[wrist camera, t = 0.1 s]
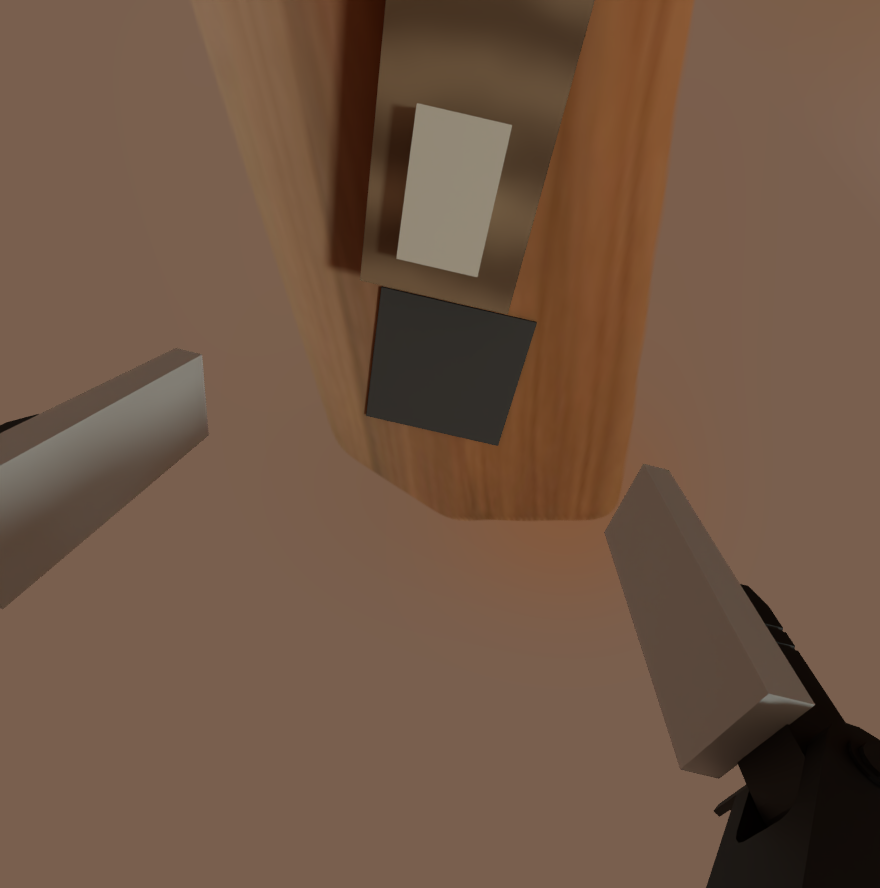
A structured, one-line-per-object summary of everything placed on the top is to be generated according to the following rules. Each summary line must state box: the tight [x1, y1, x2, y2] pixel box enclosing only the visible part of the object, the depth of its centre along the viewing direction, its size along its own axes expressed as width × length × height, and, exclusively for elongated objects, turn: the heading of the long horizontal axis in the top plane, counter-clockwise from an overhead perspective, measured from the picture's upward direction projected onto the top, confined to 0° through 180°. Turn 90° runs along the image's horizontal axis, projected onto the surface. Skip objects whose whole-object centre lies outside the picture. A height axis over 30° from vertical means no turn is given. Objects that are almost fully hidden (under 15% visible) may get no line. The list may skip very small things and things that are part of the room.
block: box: [396, 103, 512, 277], centre depth 29 cm, size 9×6×2 cm, turn 169°
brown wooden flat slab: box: [360, 0, 595, 314], centre depth 30 cm, size 20×12×4 cm, turn 169°
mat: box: [366, 287, 537, 446], centre depth 41 cm, size 13×14×1 cm
